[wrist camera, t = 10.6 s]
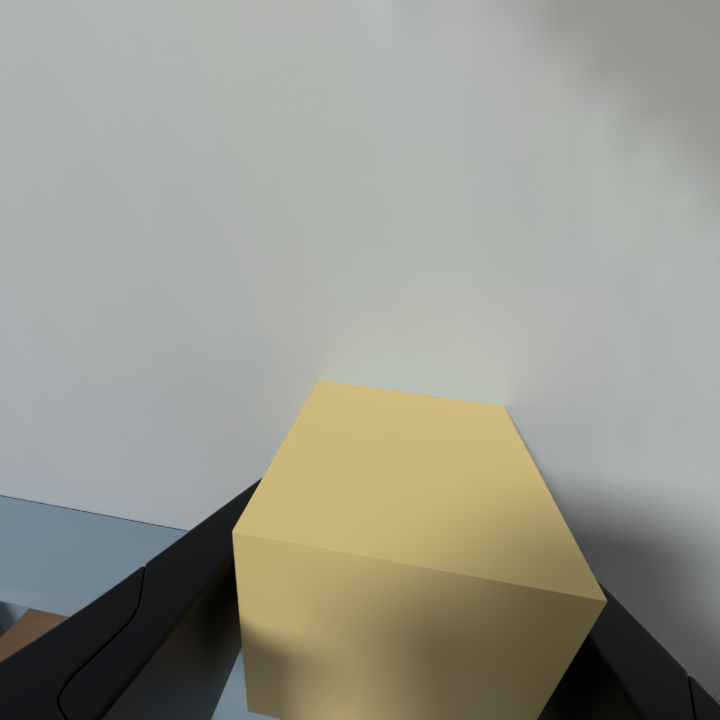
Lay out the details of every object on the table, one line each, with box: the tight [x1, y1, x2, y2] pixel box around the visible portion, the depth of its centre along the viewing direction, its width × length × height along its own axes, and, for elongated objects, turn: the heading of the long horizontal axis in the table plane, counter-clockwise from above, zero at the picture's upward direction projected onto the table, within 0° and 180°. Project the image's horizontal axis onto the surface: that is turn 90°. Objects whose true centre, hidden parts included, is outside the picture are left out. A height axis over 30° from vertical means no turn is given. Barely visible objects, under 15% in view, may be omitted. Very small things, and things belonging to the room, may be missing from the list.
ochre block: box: [232, 380, 607, 720], centre depth 7 cm, size 4×4×4 cm
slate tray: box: [0, 496, 282, 720], centre depth 13 cm, size 20×15×2 cm
